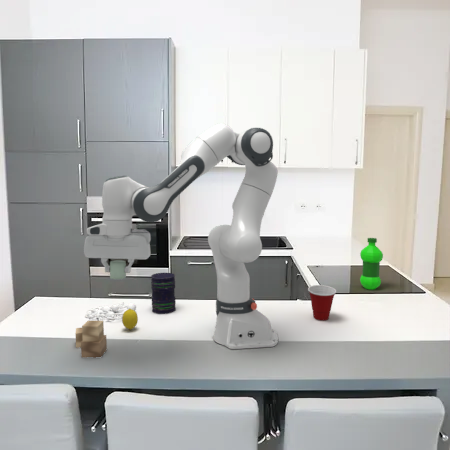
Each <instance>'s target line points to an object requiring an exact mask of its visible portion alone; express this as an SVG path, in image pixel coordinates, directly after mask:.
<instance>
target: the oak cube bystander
mask: <svg viewBox="0 0 450 450" xmlns="http://www.w3.org/2000/svg"><path fill="white" fill-rule="evenodd" d="M74 334H75V348H76V349H79V347H80V348H81V342H82V341H83V337H82V327H76V328H75V333H74Z"/></svg>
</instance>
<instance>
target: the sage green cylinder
mask: <svg viewBox="0 0 450 450" xmlns="http://www.w3.org/2000/svg"><path fill="white" fill-rule="evenodd" d="M109 266H110V272H109V279H111V280H124V279H126V278H127V273H125V267H126V266H127V263H126V260H123V259H116V260H111V261H109Z"/></svg>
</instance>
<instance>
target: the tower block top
mask: <svg viewBox="0 0 450 450" xmlns="http://www.w3.org/2000/svg"><path fill="white" fill-rule="evenodd" d="M81 328H82V337H83V342H99V341H100V340H101V338H102V337H103V336H104V335H105V332H104V330H105V329H104V320H87V321H86V322H85V323H84V324H83V325H82V326H81Z"/></svg>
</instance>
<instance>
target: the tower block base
mask: <svg viewBox="0 0 450 450" xmlns="http://www.w3.org/2000/svg"><path fill="white" fill-rule="evenodd" d="M107 347H108V345H107V334H104V336H103V337H102V338H101V340H100V341H99V342H83V341H82V342H81V347H80V351H81V353H80V354H81V358H84V359H85V358H87V357H93V358H92V359H94V358H96V357H101V356H104V354H105V353H106V352H107V350H108V348H107ZM106 349H107V350H106ZM104 352H105V353H104ZM101 358H102V357H101ZM87 359H88V358H87Z"/></svg>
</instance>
